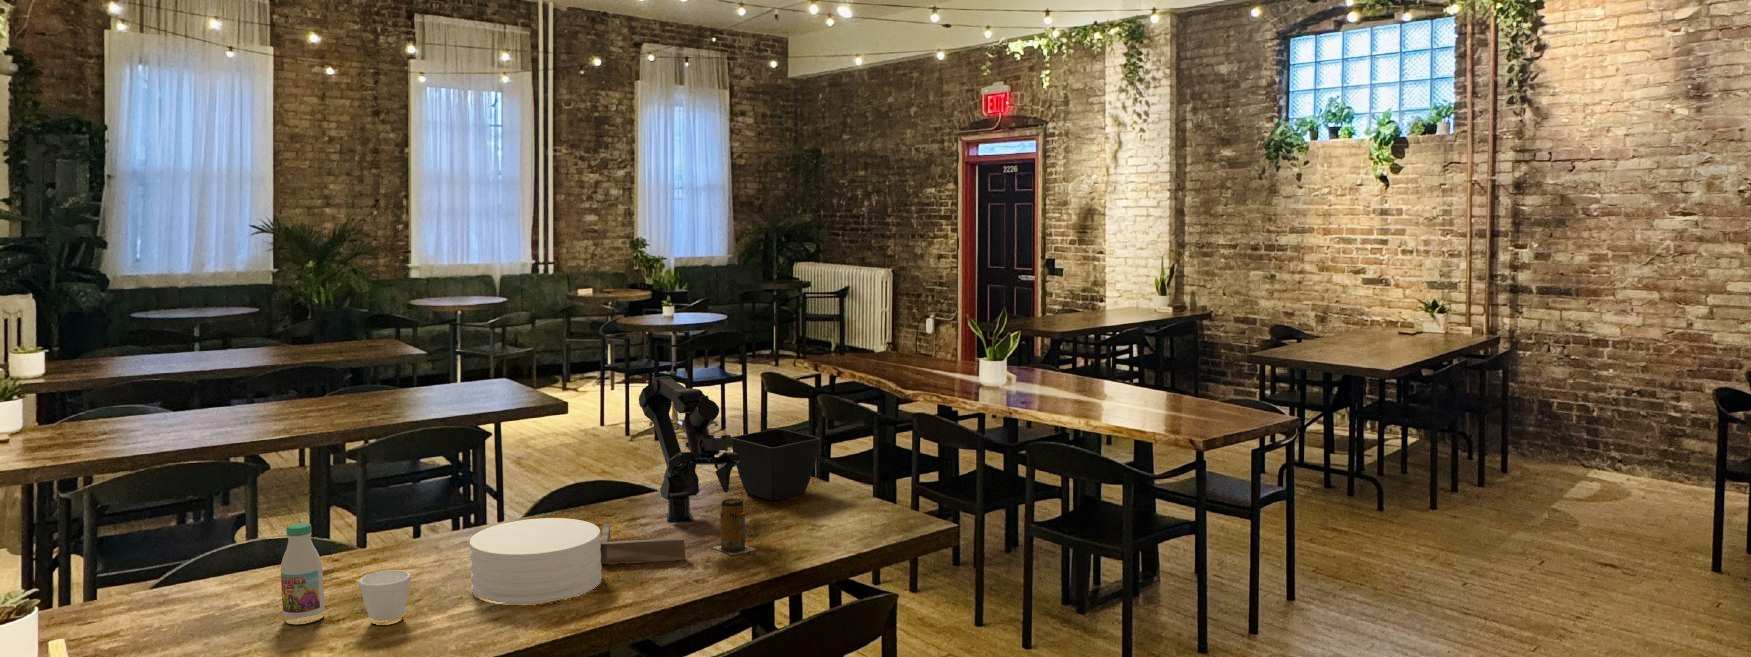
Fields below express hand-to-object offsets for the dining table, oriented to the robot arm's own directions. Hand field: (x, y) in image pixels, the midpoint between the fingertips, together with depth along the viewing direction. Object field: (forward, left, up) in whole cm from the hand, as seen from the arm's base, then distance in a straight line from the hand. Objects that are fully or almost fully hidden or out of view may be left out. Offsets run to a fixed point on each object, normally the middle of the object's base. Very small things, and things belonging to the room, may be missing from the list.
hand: (712, 492), depth 296 cm
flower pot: (-42, +20, -12) cm, 48 cm away
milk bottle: (+41, -85, -12) cm, 95 cm away
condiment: (+9, +5, -12) cm, 16 cm away
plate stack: (+27, -40, -13) cm, 50 cm away
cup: (+45, -68, -12) cm, 82 cm away
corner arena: (+7, -17, -12) cm, 22 cm away
